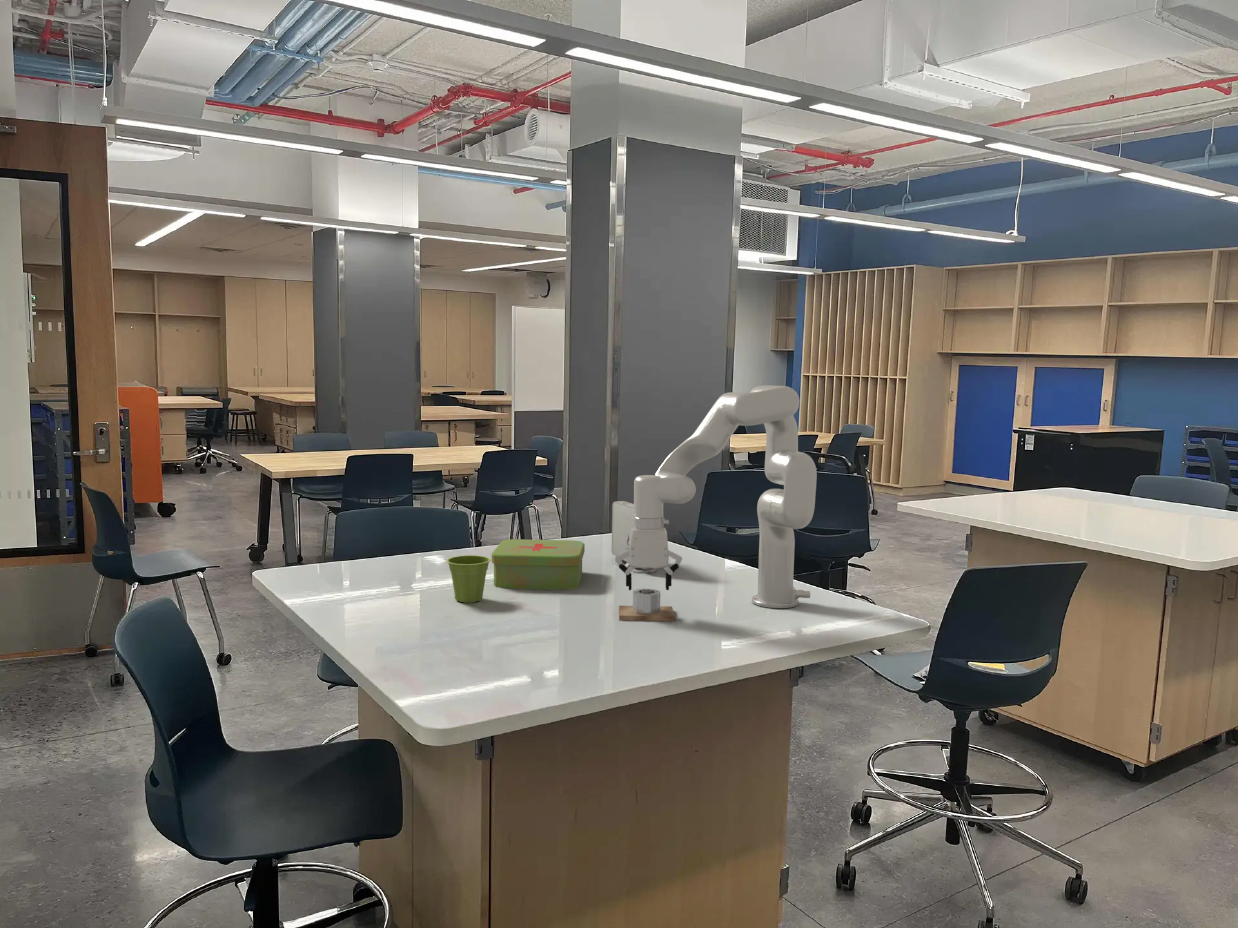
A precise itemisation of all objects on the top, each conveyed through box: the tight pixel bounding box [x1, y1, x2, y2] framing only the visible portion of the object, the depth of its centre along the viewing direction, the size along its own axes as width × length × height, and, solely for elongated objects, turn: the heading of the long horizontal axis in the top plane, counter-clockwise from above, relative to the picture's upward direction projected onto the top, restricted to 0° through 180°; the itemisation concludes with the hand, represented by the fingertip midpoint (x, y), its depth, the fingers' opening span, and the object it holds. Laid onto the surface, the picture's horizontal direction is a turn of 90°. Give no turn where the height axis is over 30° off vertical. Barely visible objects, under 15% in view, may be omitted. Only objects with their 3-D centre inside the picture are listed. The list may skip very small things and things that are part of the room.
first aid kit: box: [491, 538, 586, 590], centre depth 271 cm, size 26×26×10 cm
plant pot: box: [446, 554, 492, 604], centre depth 244 cm, size 12×12×11 cm
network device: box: [611, 500, 657, 574], centre depth 291 cm, size 26×9×20 cm, turn 25°
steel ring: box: [632, 588, 662, 615], centre depth 231 cm, size 7×7×5 cm
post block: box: [618, 591, 676, 622], centre depth 232 cm, size 14×10×6 cm
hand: (648, 588), depth 231 cm, fingers open, 9 cm apart
